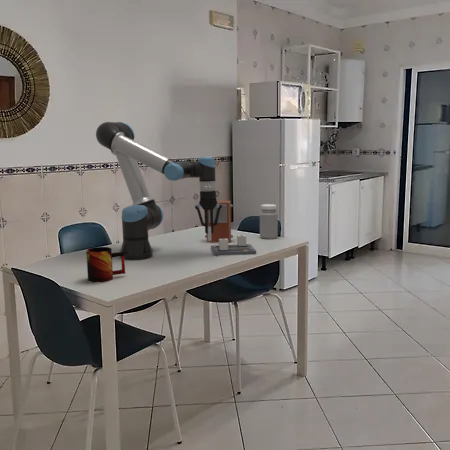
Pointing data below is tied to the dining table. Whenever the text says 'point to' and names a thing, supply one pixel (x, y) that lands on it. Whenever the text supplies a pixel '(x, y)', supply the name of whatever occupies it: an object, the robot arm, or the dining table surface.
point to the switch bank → (233, 250)
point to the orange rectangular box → (221, 222)
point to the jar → (268, 221)
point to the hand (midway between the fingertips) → (209, 240)
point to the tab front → (223, 244)
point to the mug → (102, 264)
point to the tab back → (241, 240)
